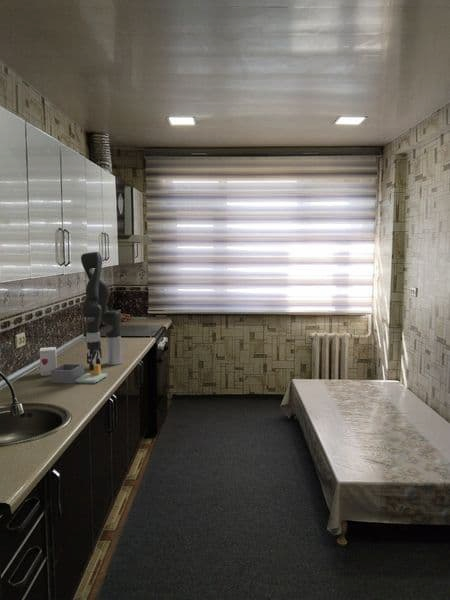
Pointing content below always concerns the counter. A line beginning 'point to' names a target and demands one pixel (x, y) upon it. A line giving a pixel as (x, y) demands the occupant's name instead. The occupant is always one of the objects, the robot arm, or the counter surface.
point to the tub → (67, 373)
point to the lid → (92, 375)
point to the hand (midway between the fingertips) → (95, 368)
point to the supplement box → (47, 360)
